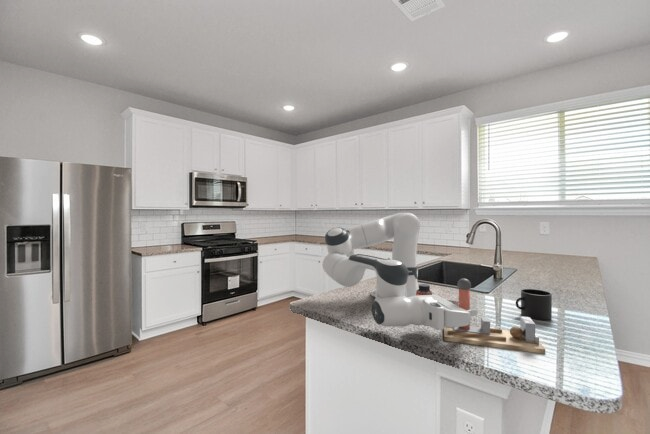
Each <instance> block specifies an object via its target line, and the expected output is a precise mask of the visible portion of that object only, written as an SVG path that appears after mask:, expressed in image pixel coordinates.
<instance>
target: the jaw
mask: <svg viewBox="0 0 650 434" xmlns="http://www.w3.org/2000/svg"><path fill="white" fill-rule="evenodd" d="M520 328H521V329H522V331H523V336H522V338H523V340H524V341H525V343H530V344H538V345H539V342H540V337H539V335H538V334H537V333H536V323H535V322H534V321H533V319H531V318H530V317H525V316H523V315H521V316H520Z"/></svg>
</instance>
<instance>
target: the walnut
mask: <svg viewBox="0 0 650 434" xmlns="http://www.w3.org/2000/svg"><path fill="white" fill-rule="evenodd" d="M509 330H510V334H511V336H512V337H514V338H517V339H518V338H521V337H522V336H523V331H522V329H521V327H519V326H517V325H516V326H515V325H514V326H512V327H510V328H509Z"/></svg>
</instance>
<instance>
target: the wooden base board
mask: <svg viewBox="0 0 650 434" xmlns="http://www.w3.org/2000/svg"><path fill="white" fill-rule="evenodd" d="M473 326H474V327H480V325H479V326H478V325H473ZM443 341H445V342H447V341H448V342H452V343H460V344H470V345H476V346H477V345H478V346H483V347H484V346H485V347H490V348H498V349H500V348H501V349H507V350H513V351H514V350H515V351H520V352H521V351H522V352H530V353H537V354H544V355H545V354H546V347H544V346H543V345H542V343H541V342H540V341H539V345H538V344H530V343H525V341H524V340H523V338H522V337H521V338H518V339H517V338H514V337H512V336H511V334H510V329H509V330H508V329H502V328H494V327H490V335H485V334H477V333H469V332H460V331H454V327H451V328H449V327H444V329H443Z"/></svg>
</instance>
